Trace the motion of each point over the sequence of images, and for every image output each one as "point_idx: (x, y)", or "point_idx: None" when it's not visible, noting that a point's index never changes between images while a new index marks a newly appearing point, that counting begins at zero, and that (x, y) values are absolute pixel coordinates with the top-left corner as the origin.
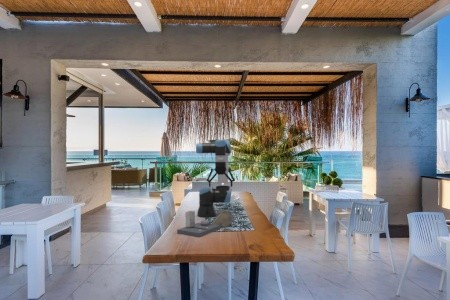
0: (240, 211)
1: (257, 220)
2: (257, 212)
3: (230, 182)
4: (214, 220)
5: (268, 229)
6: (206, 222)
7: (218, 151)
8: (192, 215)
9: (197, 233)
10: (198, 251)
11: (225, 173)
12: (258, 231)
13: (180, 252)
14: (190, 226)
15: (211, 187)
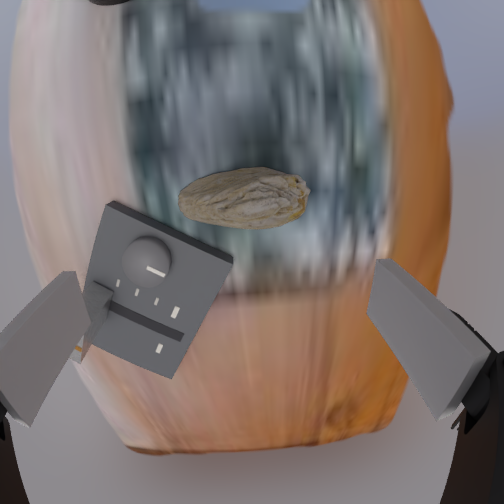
0: None
1: (414, 72)
2: None
3: (448, 412)
4: (189, 213)
5: (433, 250)
6: (158, 284)
7: None
8: (89, 337)
9: (163, 374)
10: (211, 444)
11: None
12: None
13: (176, 445)
14: (105, 319)
15: (64, 361)
